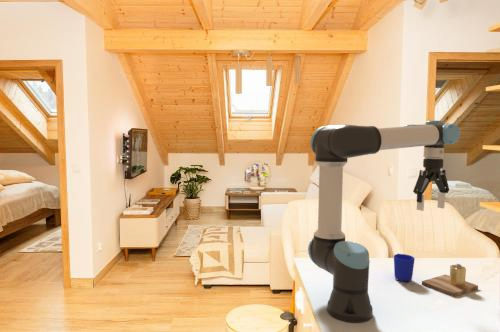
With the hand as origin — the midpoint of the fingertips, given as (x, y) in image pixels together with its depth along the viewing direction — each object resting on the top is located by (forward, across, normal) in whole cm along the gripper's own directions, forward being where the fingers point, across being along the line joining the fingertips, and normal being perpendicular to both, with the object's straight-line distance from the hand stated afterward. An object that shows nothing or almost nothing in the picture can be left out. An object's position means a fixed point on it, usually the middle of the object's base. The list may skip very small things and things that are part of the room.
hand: (430, 209), depth 159 cm
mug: (+31, -6, +8) cm, 33 cm away
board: (+31, +3, -8) cm, 32 cm away
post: (+30, +5, -10) cm, 32 cm away
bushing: (+29, +5, -10) cm, 32 cm away
